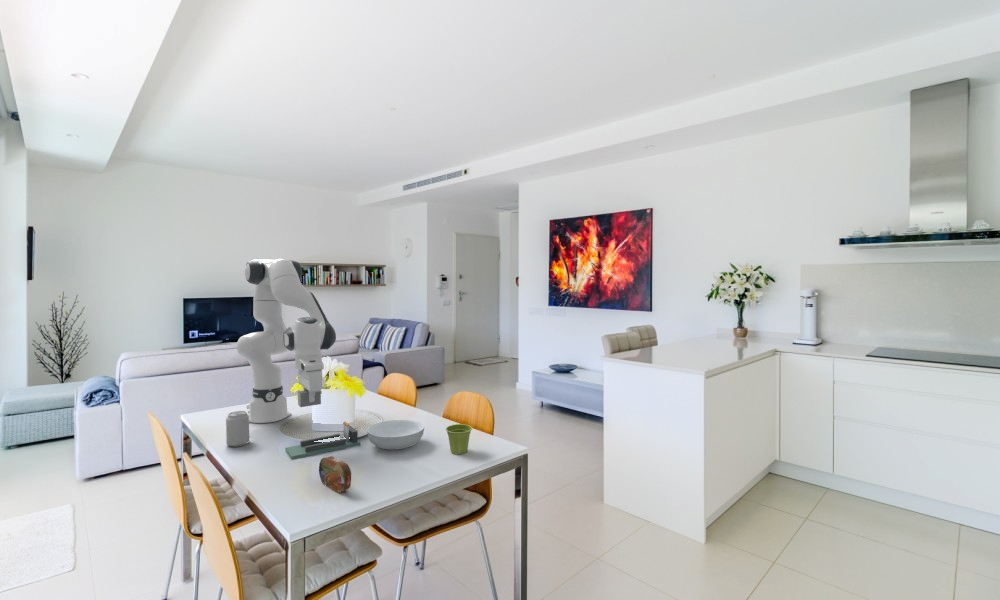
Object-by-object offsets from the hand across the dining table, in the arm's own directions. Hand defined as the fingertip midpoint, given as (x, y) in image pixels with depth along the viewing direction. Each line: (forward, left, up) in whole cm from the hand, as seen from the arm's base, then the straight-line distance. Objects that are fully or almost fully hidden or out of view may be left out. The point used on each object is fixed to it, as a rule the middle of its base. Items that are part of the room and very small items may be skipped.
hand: (309, 400), depth 168 cm
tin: (+36, -2, -18) cm, 41 cm away
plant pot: (+33, +43, -18) cm, 58 cm away
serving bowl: (+14, +27, -19) cm, 36 cm away
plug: (0, 0, -2) cm, 2 cm away
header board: (+1, +4, -18) cm, 19 cm away
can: (-21, -21, -18) cm, 35 cm away
